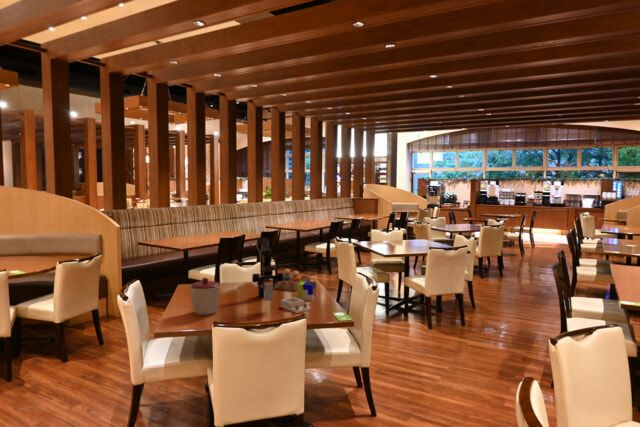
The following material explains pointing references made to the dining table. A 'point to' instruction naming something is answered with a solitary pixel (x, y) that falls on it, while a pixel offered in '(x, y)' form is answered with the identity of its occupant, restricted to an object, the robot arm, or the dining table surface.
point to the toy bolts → (293, 278)
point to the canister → (205, 296)
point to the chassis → (294, 305)
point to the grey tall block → (268, 290)
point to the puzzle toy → (306, 290)
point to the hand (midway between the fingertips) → (268, 289)
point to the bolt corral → (291, 283)
